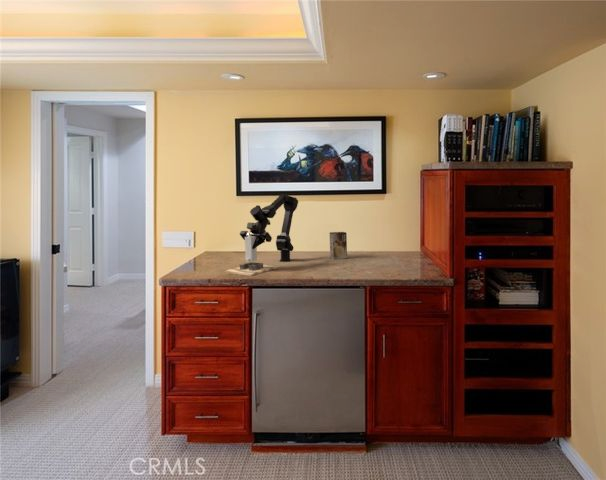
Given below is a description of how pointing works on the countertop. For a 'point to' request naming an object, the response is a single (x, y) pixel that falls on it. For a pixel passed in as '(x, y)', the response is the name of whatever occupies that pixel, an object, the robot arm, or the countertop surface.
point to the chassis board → (251, 269)
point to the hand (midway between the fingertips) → (249, 248)
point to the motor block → (250, 248)
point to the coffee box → (338, 245)
